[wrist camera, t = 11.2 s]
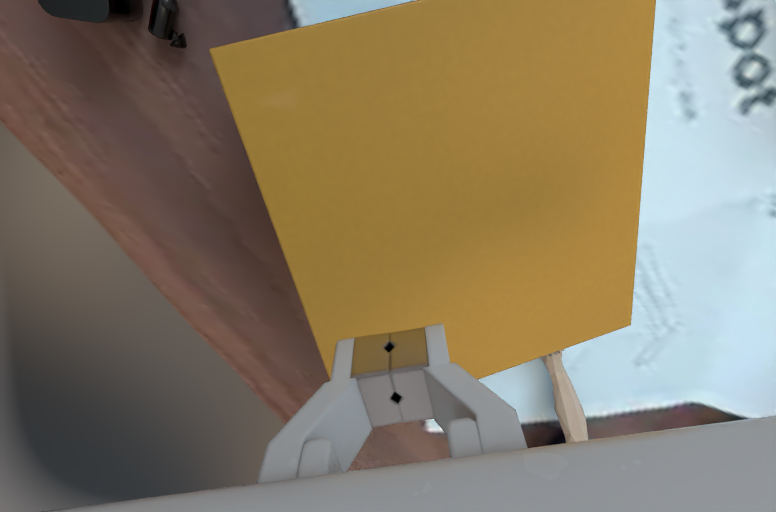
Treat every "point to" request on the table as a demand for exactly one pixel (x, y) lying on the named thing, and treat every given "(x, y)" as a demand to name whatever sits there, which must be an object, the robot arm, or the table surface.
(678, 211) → the table surface
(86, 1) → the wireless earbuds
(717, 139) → the table surface
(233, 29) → the table surface
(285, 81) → the cover
